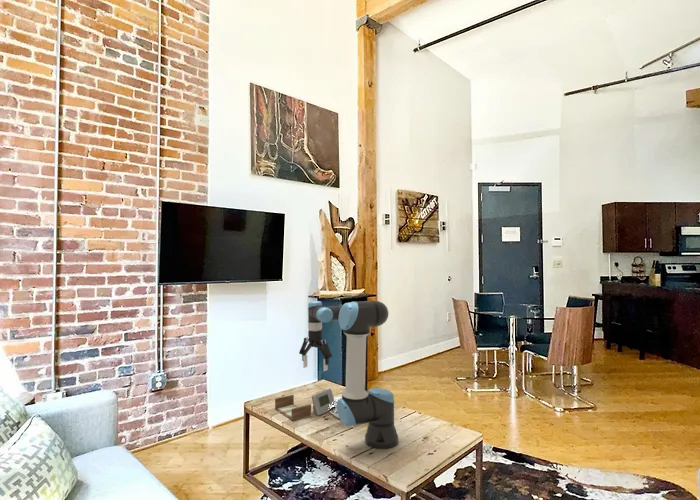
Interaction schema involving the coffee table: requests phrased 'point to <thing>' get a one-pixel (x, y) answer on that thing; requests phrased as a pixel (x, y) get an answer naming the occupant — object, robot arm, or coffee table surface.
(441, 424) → the coffee table surface
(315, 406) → the digital clock
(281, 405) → the cradle
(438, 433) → the coffee table surface
